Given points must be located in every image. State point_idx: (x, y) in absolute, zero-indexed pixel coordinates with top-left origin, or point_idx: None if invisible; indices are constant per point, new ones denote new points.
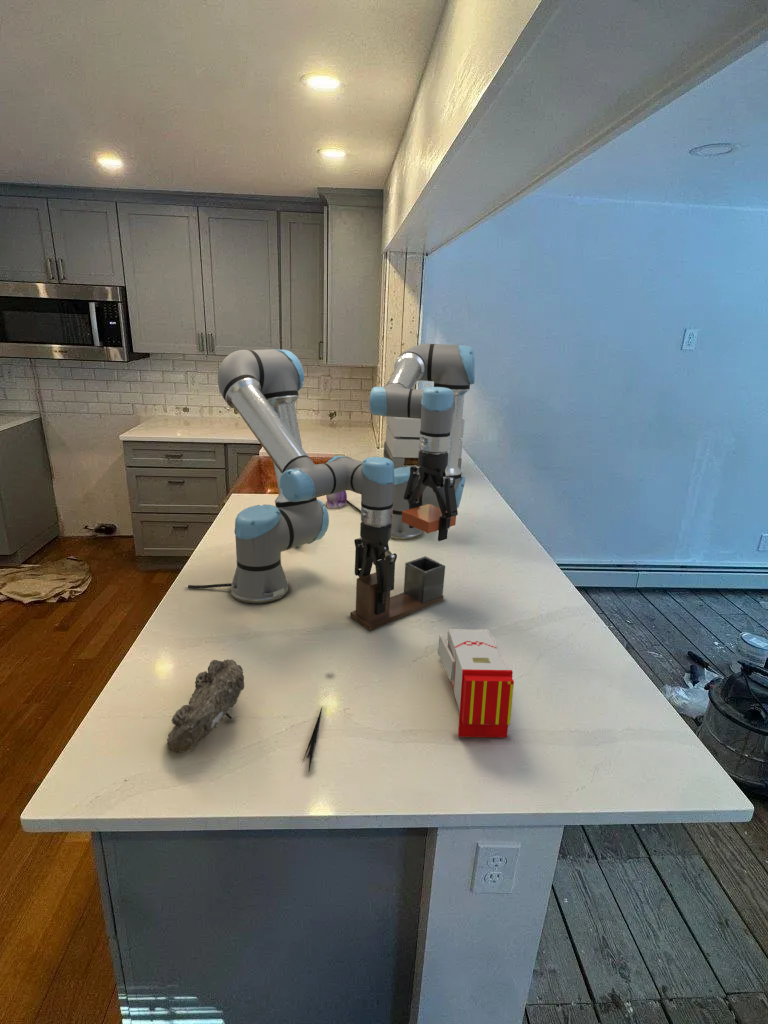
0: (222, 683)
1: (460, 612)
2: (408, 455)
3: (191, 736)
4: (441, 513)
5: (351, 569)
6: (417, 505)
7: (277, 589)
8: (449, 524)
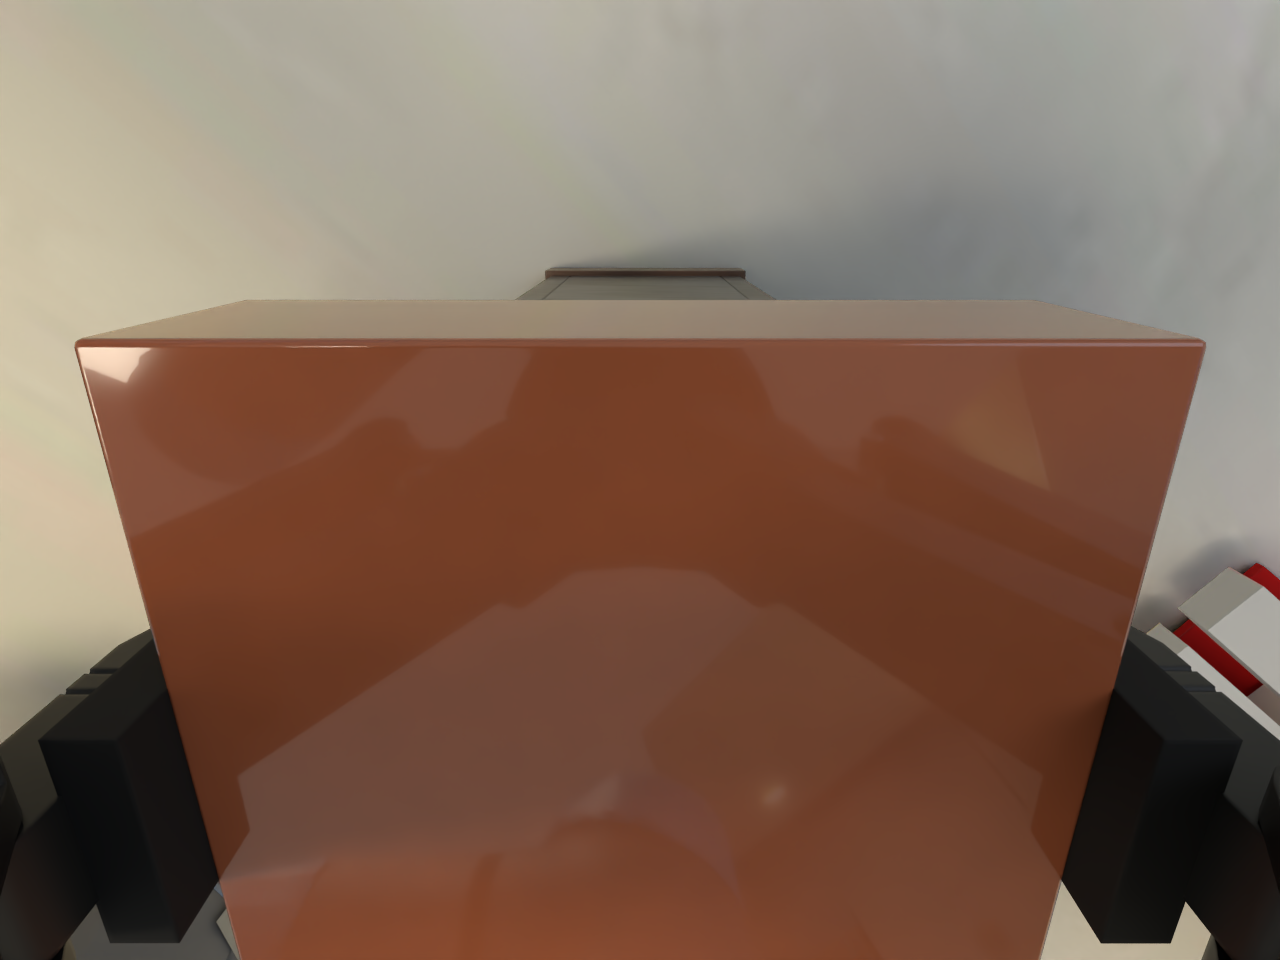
0: None
1: (910, 291)
2: None
3: None
4: (860, 609)
5: (75, 460)
6: (158, 781)
7: (225, 950)
8: (1195, 689)
